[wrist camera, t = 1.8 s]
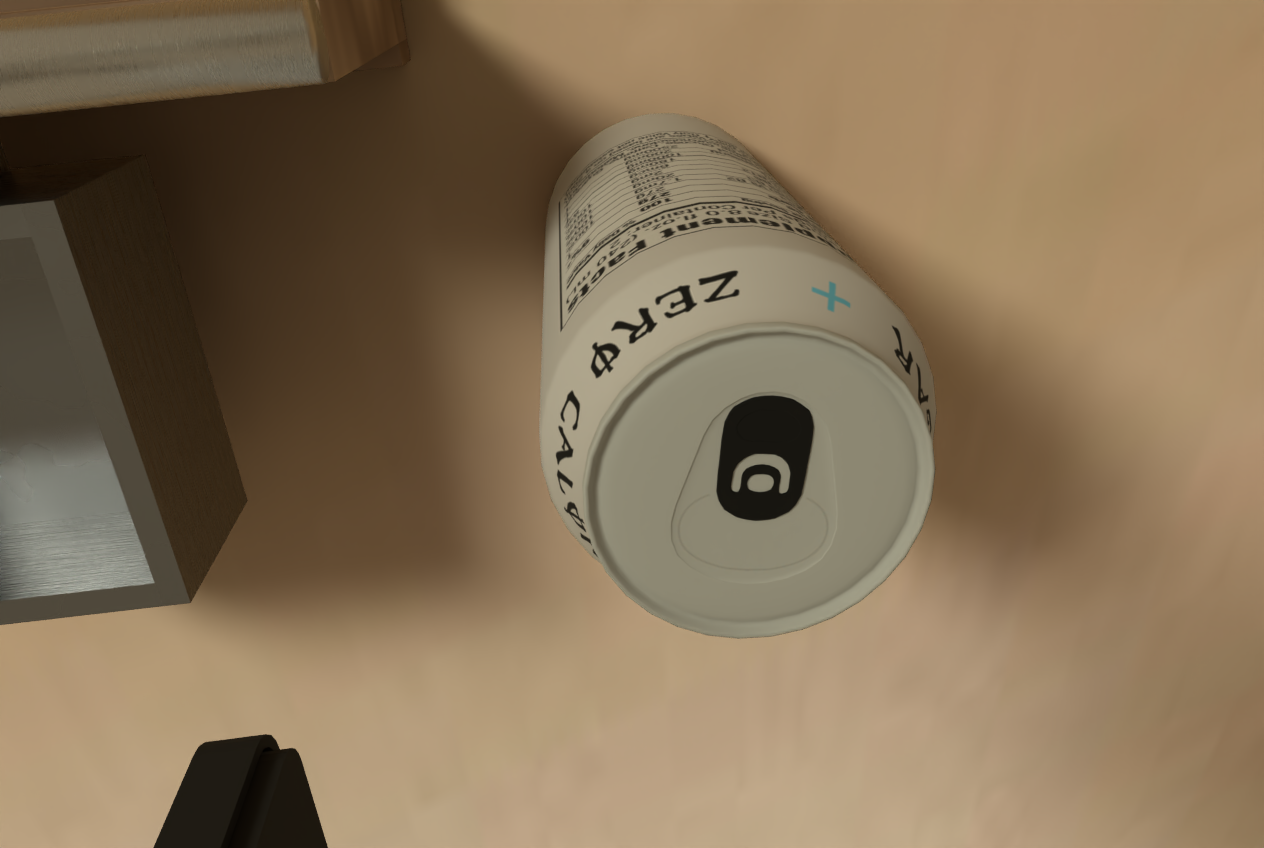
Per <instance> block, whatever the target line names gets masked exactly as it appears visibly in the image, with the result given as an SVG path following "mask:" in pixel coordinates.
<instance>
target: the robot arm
mask: <svg viewBox="0 0 1264 848" xmlns="http://www.w3.org/2000/svg"><path fill="white" fill-rule="evenodd" d="M154 848H328V847H327V843H326V840H325V837H324V833H323V830H322V827H321V824H320V820H319V817H318V814H317V810H316V807H315V804H314V800H313V797H312V794H311V790H310V787H309V784H308V781H307V777H306V774H305V771H304V767H303V764H302V761H301V758H300V756H299V753H298V752H297V751H296V749H293V748H289V749H282V750H280V749H279V746H278V744H277V742H276V740H275V739H274V738H273V737H272V735H267V734H265V735H258V736H250V737H242V738H235V739H227V740H219V741H211V742H205V743H203V744H202V745H200V746H199V747H198V749H197V751H196V752H195V754H194V756H193V758H192V760H191V762H190V765H189V767H188V769H187V772H186V774H185V776H184V779H183V781H182V783H181V785H180V788H179V790H178V792H177V795H176V797H175V799H174V802H173V804H172V806H171V809H170V811H169V813H168V815H167V818H166V820H165V822H164V825H163V827H162V829H161V832H160V834H159V836H158V838H157V841H156V843H155V845H154Z"/></svg>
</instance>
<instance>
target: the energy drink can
mask: <svg viewBox="0 0 1264 848" xmlns="http://www.w3.org/2000/svg"><path fill="white" fill-rule="evenodd" d="M936 412H937V411H936V401H935V390H934V380H933V375H932V372H931V369H930V366H929V363H928V360H927V356H926V353H925V350H924V347H923V344H922V342H921V341H920V339H919V337H918V336H917V334H916V332H915V331H914V329H913V327H912V326H911V324H910V322H909V321H908V319H907V317H906V316H905V314H904V312H903V311H902V310H901V309H900V308H899V307H898V306H897V305H896V304H895V303H894V302H893V301H892V300H891V299H890V298H889V297H888V296H887V295H886V294H885V293H884V292H883V291H882V290H881V288H880V287H879V286H878V285H877V284H876V283H875V282H874V281H873V280H872V279H871V278H870V277H869V276H868V275H867V274H866V273H865V272H864V271H863V270H862V269H861V268H860V267H859V266H858V265H857V264H856V262H855V261H854V260H853V259H852V258H851V257H850V256H849V255H848V254H847V253H846V252H845V251H844V250H843V249H842V248H841V247H840V246H839V245H838V244H837V243H836V242H835V241H834V240H833V239H832V238H831V237H830V235H829V234H828V233H827V232H826V231H825V230H824V229H823V228H822V227H821V226H820V225H819V224H818V223H817V222H816V221H815V220H814V219H813V218H812V217H811V216H810V215H809V214H808V213H807V212H806V211H805V210H804V208H803V207H802V206H801V205H800V204H799V203H798V202H797V201H796V200H795V199H794V198H793V197H792V196H791V195H790V194H789V193H788V192H787V191H786V190H785V189H784V188H783V187H782V186H781V185H780V184H779V182H778V181H777V180H776V179H775V178H774V177H773V176H772V175H771V174H770V173H769V172H768V171H767V170H766V169H765V168H764V167H763V166H762V165H761V164H760V163H759V162H758V161H757V160H756V159H755V158H754V157H753V155H752V154H751V153H750V152H749V151H748V150H747V149H746V148H745V147H744V146H743V145H742V144H741V143H740V142H739V141H738V140H737V139H736V138H734V137H733V136H731V135H730V134H728V133H727V132H725V131H724V130H722V129H721V128H719V127H718V126H716V125H714V124H711V123H709V122H706V121H704V120H701V119H699V118H696V117H691V116H686V115H680V114H674V113H661V114H646V115H642V116H638V117H633V118H629V119H625V120H623V121H621V122H619V123H617V124H614V125H612V126H610V127H608V128H606V129H604V130H602V131H601V132H600V133H598V134H597V135H596V136H594V137H593V138H592V139H590V140H589V141H587V142H586V143H585V144H584V145H583V146H582V147H581V148H580V149H579V150H578V151H577V153H576V154H575V155H574V156H573V157H572V158H571V159H570V160H569V161H568V163H567V165H566V166H565V168H564V170H563V171H562V173H561V175H560V176H559V178H558V180H557V182H556V184H555V187H554V190H553V193H552V196H551V199H550V201H549V206H548V213H547V220H546V232H545V264H544V295H543V326H542V358H541V389H540V421H539V436H540V451H541V466H542V470H543V473H544V476H545V480H546V483H547V487H548V490H549V493H550V497H551V500H552V502H553V504H554V505H555V507H556V509H557V511H558V513H559V514H560V516H561V518H562V520H563V522H564V523H565V525H566V527H567V529H568V530H569V531H570V532H571V534H572V535H573V536H574V537H575V538H576V539H577V541H578V542H579V543H580V544H581V545H582V546H583V547H584V549H585V550H586V551H587V552H588V553H589V554H590V555H591V556H592V557H593V558H594V559H596V560H597V561H598V562H600V563H601V564H602V565H603V567H604V569H605V571H606V573H607V574H608V575H609V576H610V577H611V578H612V580H613V581H614V582H615V583H616V584H617V585H618V587H619V588H620V589H621V590H622V591H623V592H624V593H625V595H626V596H628V597H629V598H630V599H632V600H633V601H634V602H636V603H637V604H638V605H640V606H641V607H642V608H644V609H645V610H646V611H648V612H649V613H650V614H652V615H654V616H657V617H659V618H661V619H663V620H665V621H667V622H669V623H671V624H673V625H675V626H677V627H680V628H683V629H687V630H690V631H694V632H698V633H701V634H705V635H710V636H719V637H729V638H738V639H740V638H757V637H771V636H776V635H780V634H785V633H790V632H794V631H799V630H803V629H805V628H808V627H810V626H813V625H815V624H818V623H821V622H823V621H826V620H828V619H831V618H833V617H835V616H836V615H838V614H840V613H842V612H843V611H845V610H847V609H848V608H850V607H852V606H853V605H855V604H857V603H859V602H860V601H861V600H863V599H864V598H865V597H866V596H867V595H869V594H870V593H871V592H872V591H873V590H875V589H876V588H877V587H878V586H879V585H881V584H882V583H883V582H884V581H885V580H886V579H887V578H888V577H889V576H890V574H891V573H892V572H893V571H894V570H895V569H896V567H897V566H898V565H899V564H900V563H901V562H902V560H903V559H904V558H905V557H906V555H907V553H908V552H909V550H910V548H911V547H912V545H913V543H914V541H915V540H916V538H917V536H918V534H919V533H920V531H921V529H922V526H923V523H924V520H925V517H926V514H927V512H928V509H929V506H930V503H931V500H932V492H933V484H934V476H935V461H934V451H933V437H934V429H935V421H936Z"/></svg>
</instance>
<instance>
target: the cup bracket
mask: <svg viewBox="0 0 1264 848" xmlns="http://www.w3.org/2000/svg"><path fill="white" fill-rule="evenodd" d="M410 60H411V59H410V53H409V47H408V42H407V36H406V30H405V25H404V19H403V13H402V8H401V2H400V0H0V117H10V116H20V115H29V114H39V113H49V112H58V111H68V110H77V109H87V108H97V107H106V106H116V105H125V104H135V103H145V102H154V101H164V100H174V99H183V98H193V97H202V96H212V95H222V94H231V93H241V92H250V91H260V90H270V89H279V88H289V87H298V86H308V85H318V84H326V83H327V82H335V81H337V80H338V79H340V78H342V77H343V76H345V75H347V74H348V73H350V72H352V71H360V70H369V69H379V68H389V67H398V66H403V65H404V64H406V63H407V62H408V61H410ZM246 502H247V497H246V494H245V491H244V487H243V484H242V481H241V477H240V474H239V470H238V467H237V464H236V460H235V457H234V453H233V450H232V447H231V443H230V440H229V436H228V433H227V430H226V426H225V423H224V420H223V416H222V413H221V409H220V406H219V403H218V399H217V396H216V392H215V389H214V386H213V382H212V379H211V375H210V372H209V369H208V365H207V362H206V358H205V355H204V352H203V348H202V345H201V342H200V338H199V335H198V331H197V328H196V325H195V321H194V318H193V314H192V311H191V308H190V304H189V301H188V297H187V294H186V291H185V287H184V284H183V281H182V277H181V274H180V270H179V267H178V264H177V260H176V257H175V253H174V250H173V247H172V243H171V240H170V236H169V233H168V230H167V226H166V223H165V220H164V216H163V213H162V209H161V206H160V203H159V199H158V196H157V192H156V189H155V186H154V182H153V179H152V175H151V172H150V169H149V165H148V162H147V158H146V155H136V156H126V157H117V158H107V159H98V160H88V161H79V162H69V163H60V164H50V165H41V166H31V167H22V168H12V169H10V167H9V165H8V162H7V159H6V156H5V153H4V150H3V148H2V145H1V142H0V625H4V624H13V623H21V622H30V621H39V620H47V619H56V618H65V617H73V616H82V615H90V614H99V613H108V612H116V611H125V610H134V609H142V608H151V607H159V606H168V605H177V604H185V603H191V601H192V599H193V597H194V596H195V594H196V592H197V590H198V589H199V587H200V585H201V583H202V581H203V580H204V578H205V576H206V574H207V572H208V571H209V569H210V567H211V565H212V563H213V562H214V560H215V558H216V556H217V554H218V553H219V551H220V549H221V547H222V545H223V544H224V542H225V540H226V538H227V536H228V535H229V533H230V531H231V529H232V527H233V526H234V524H235V522H236V520H237V518H238V517H239V515H240V513H241V511H242V509H243V508H244V506H245V504H246Z"/></svg>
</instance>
